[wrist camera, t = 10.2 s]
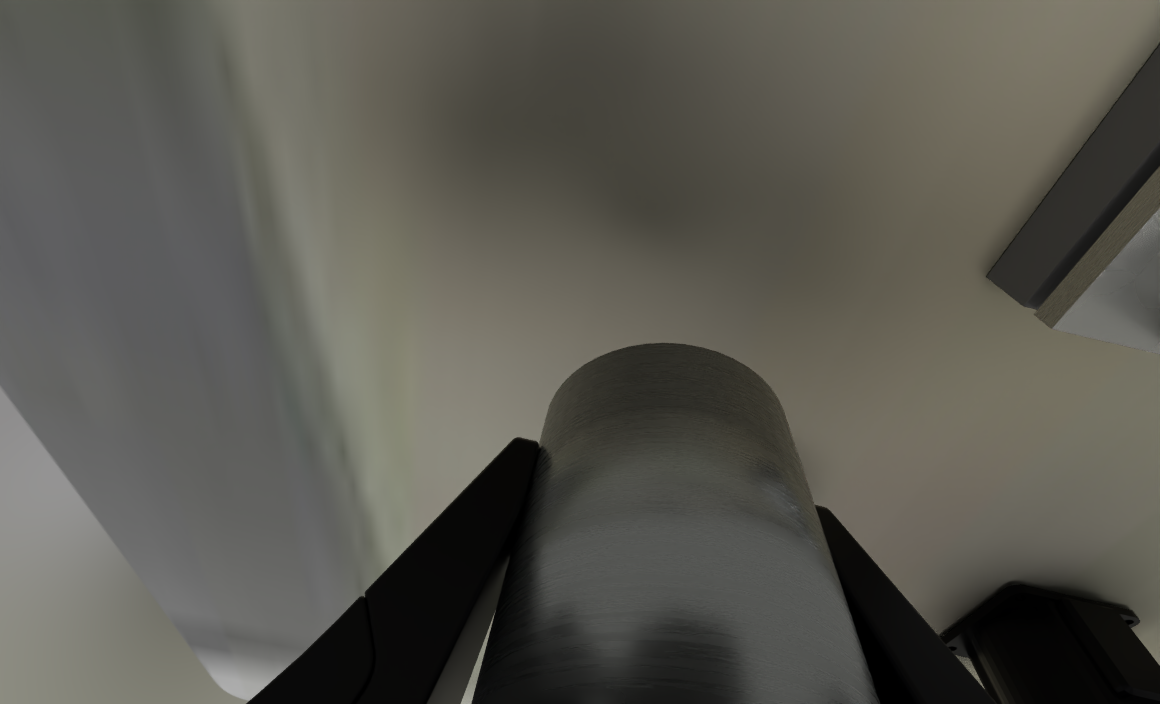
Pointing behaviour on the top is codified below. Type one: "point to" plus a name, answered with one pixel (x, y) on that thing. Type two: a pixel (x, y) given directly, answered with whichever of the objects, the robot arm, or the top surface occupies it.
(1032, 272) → the scale base
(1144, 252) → the platform
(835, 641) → the cylinder
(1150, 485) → the top surface
